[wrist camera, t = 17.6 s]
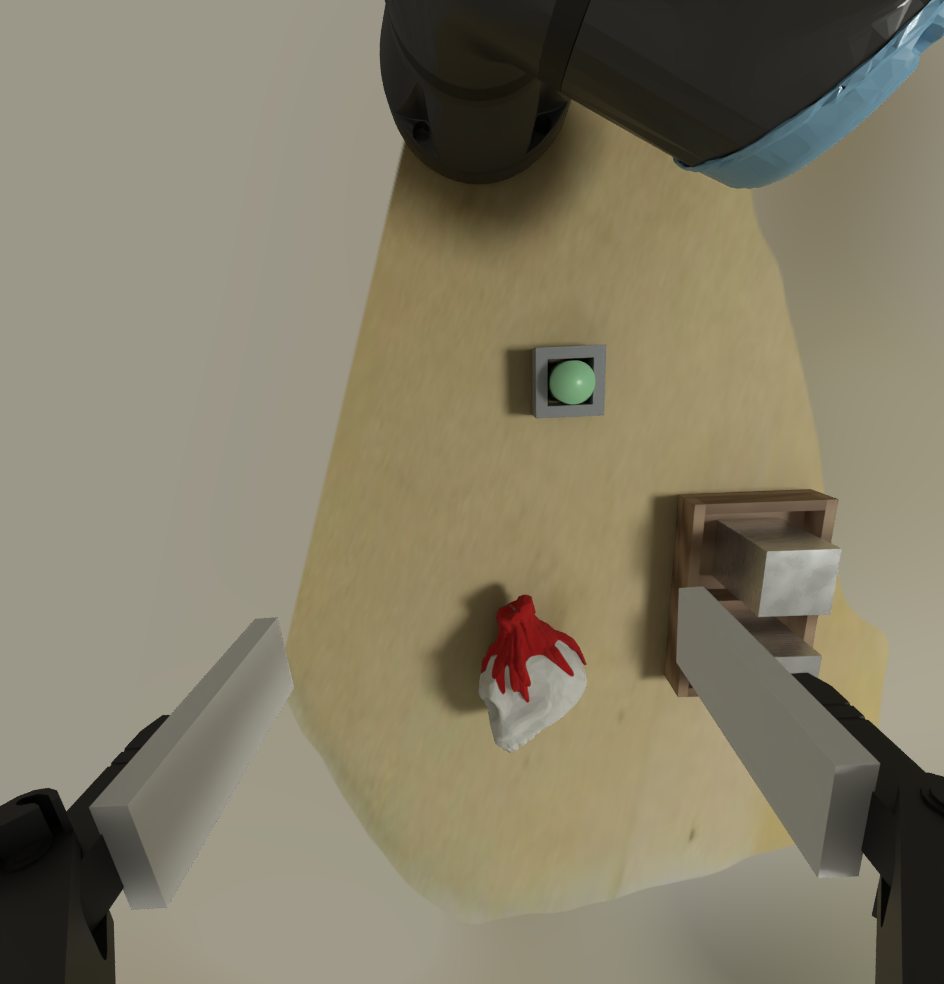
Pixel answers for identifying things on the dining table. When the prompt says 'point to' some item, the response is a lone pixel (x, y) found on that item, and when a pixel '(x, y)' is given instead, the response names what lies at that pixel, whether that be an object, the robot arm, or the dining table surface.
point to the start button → (571, 382)
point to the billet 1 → (775, 566)
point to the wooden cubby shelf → (699, 543)
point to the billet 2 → (780, 642)
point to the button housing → (540, 381)
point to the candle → (528, 675)
